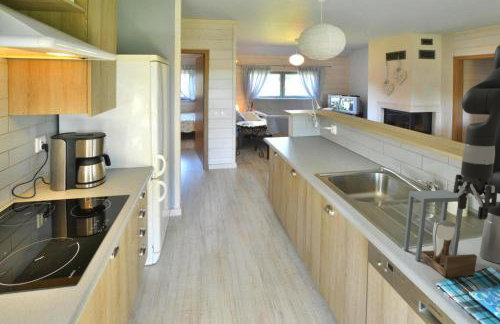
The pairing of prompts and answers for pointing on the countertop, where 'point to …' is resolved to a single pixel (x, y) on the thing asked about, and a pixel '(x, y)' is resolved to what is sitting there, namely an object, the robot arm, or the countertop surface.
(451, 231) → the beer glass
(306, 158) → the countertop surface
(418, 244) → the grey four-legged stool
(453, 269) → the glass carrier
